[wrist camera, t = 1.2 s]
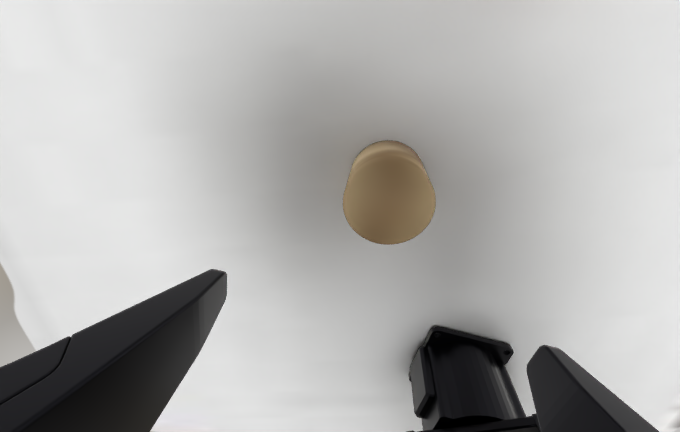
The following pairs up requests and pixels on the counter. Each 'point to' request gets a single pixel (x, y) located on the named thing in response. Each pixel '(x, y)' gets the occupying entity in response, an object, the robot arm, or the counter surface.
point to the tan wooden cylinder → (388, 194)
